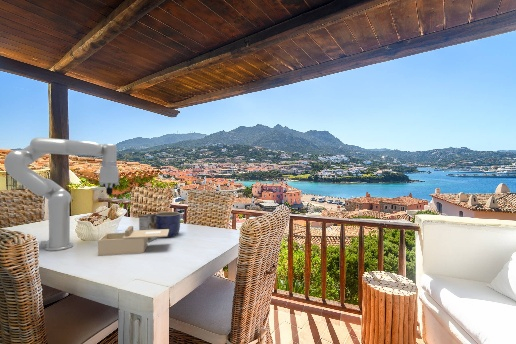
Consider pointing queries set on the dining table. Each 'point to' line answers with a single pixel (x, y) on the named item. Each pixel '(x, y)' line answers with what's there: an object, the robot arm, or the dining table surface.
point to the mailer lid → (145, 233)
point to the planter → (168, 222)
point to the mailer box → (120, 244)
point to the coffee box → (148, 224)
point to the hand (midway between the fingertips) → (109, 194)
